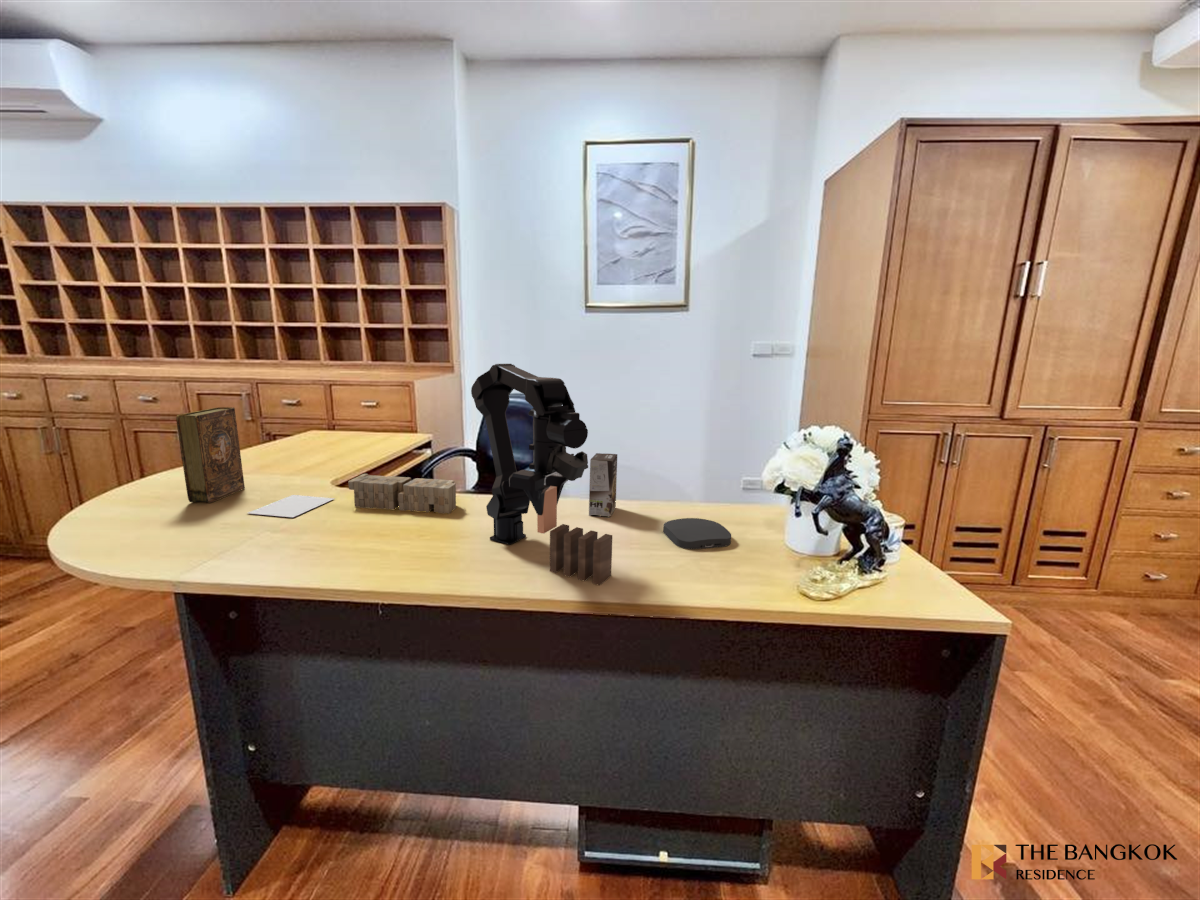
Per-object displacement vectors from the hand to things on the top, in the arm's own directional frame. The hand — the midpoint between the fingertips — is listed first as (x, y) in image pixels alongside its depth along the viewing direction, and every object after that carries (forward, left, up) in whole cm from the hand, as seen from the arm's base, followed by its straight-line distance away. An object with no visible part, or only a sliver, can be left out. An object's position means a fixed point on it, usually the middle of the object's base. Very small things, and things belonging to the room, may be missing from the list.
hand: (546, 511), depth 112 cm
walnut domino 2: (+7, 0, -12) cm, 14 cm away
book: (-108, -12, -12) cm, 109 cm away
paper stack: (-75, -9, -13) cm, 77 cm away
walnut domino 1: (+3, 0, -12) cm, 12 cm away
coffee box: (-6, +37, -12) cm, 39 cm away
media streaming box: (+23, +33, -13) cm, 42 cm away
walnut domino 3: (+10, 0, -12) cm, 16 cm away
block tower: (-56, +10, -12) cm, 58 cm away
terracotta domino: (0, 0, -4) cm, 4 cm away
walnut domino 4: (+14, 0, -12) cm, 18 cm away
